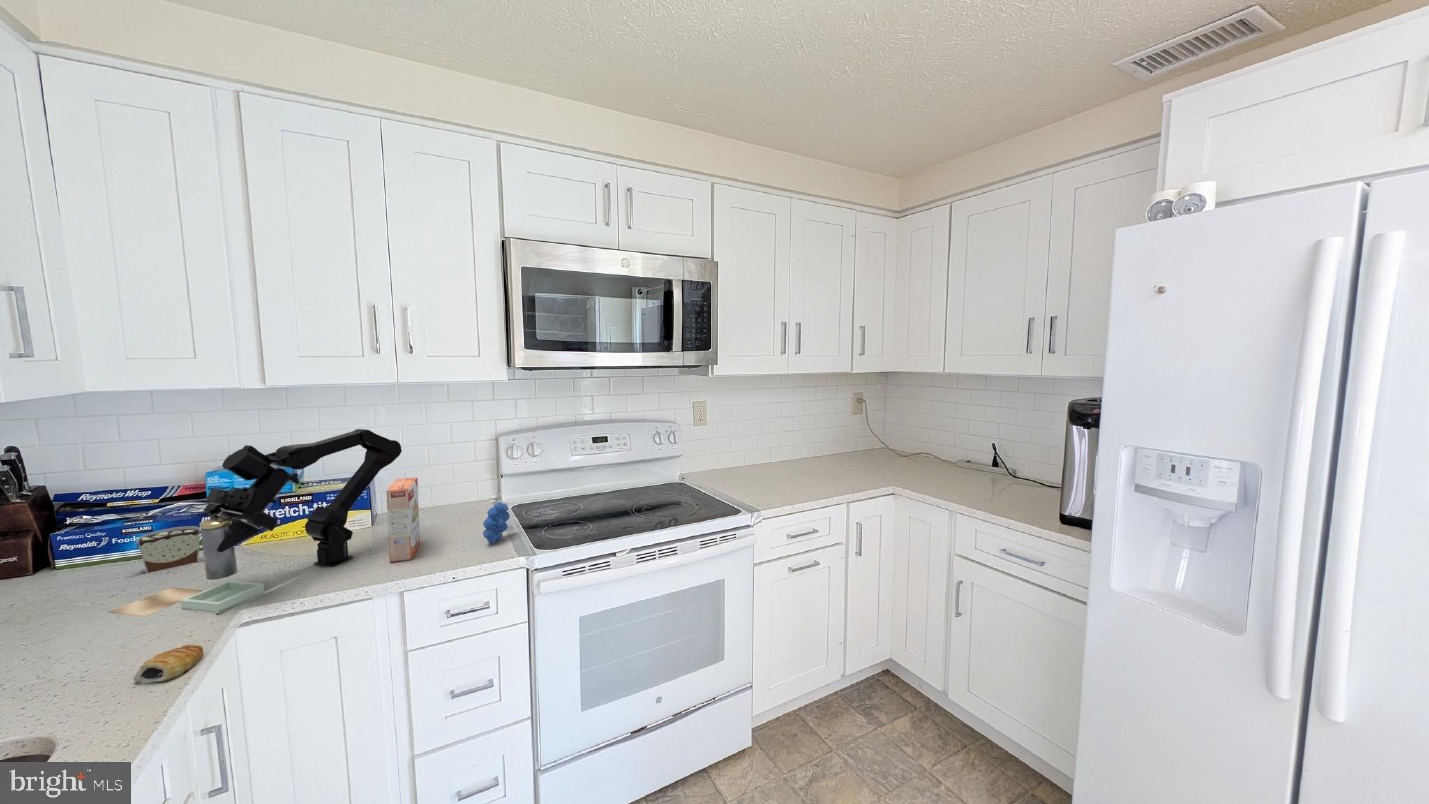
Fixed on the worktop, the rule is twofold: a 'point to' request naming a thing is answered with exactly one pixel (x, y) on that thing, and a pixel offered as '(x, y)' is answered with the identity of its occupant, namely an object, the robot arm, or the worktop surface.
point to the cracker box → (403, 519)
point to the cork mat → (156, 602)
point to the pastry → (169, 664)
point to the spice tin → (212, 537)
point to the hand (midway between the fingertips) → (211, 549)
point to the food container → (169, 547)
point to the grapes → (496, 522)
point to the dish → (223, 597)
